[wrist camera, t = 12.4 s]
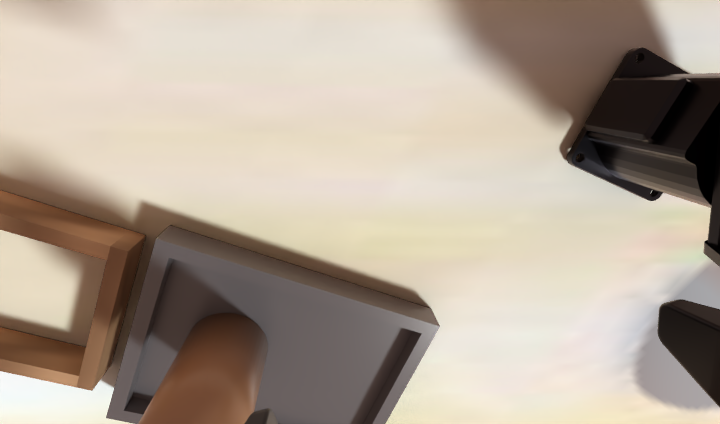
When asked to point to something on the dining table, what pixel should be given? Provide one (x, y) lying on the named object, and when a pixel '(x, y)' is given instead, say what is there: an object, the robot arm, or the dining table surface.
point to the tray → (275, 332)
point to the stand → (122, 256)
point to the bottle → (212, 374)
